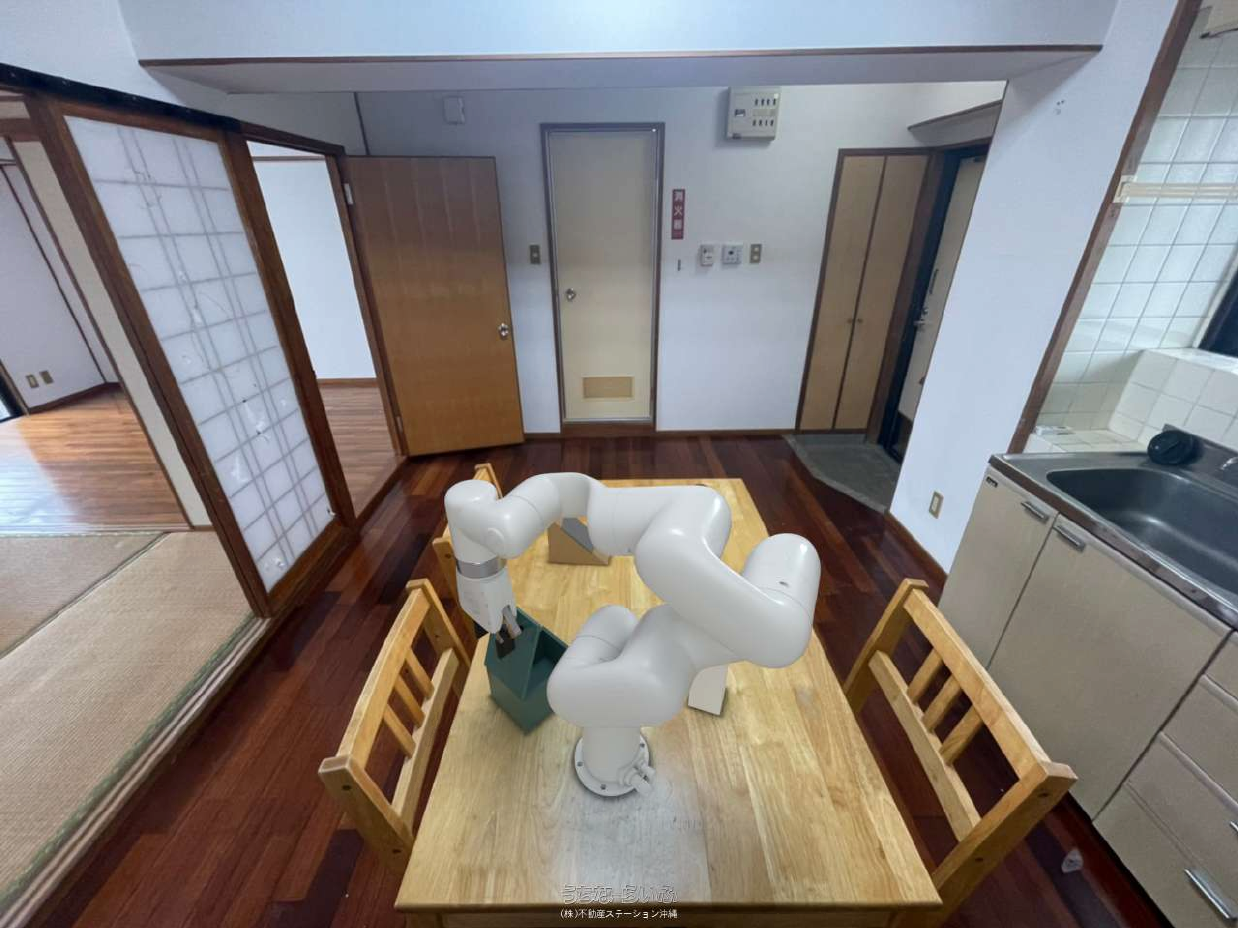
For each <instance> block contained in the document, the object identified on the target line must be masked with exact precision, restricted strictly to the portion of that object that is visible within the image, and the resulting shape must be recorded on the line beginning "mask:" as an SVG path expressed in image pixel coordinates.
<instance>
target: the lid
mask: <svg viewBox="0 0 1238 928" xmlns="http://www.w3.org/2000/svg"><path fill="white" fill-rule="evenodd" d="M516 612H517V615H516V622H517V624H518V626H519V628H520V630H521V634H519V635H518V636H516V637H515V638H514V641H515V650H513V651H512V652H511V653H510V654H508V655H506V656H505V657H504V658H502V659H499V658H498V657H497V651H496V645H495V640H496V639H497V638H496V635H495V634H493V633H490V632H489V636H488V641H487V646H486V652H485V657H484V661H483V666H484V667H485V668H486V667H487V668H488V669H489V670H490V671H491V672H492V673H493V674H494V675H495V676H496V677H497V678H498V679H499V680H500V681H501V682H502V683H503V684H504V685H505V686H506V687H507V688H508V689H509V690H510V691H511V692H512V693H514V694H515V695H516V696H517V697H518V698H519V699H520V700H524V699H525V695H526V690H527V686H528V681H529V677H530V672H531V668H532V663H533V659H534V655H535V650H536V646H537V641H538V637H539V632H540V628H541V627H542V625H541V624H540V623H539V622H538V621H536V620H535V619H534V618H533V617H532V616H530V615H529V614H528V613H527V612H525V611H524V610H523V609H522V608H520V607H519V606H518V605H516ZM506 630H508V629H507V626H506V624H505V625H504V626H502V627H501V629H500V631H501V633H503V632H505V631H506Z"/></svg>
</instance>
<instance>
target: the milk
mask: <svg viewBox="0 0 1238 928" xmlns="http://www.w3.org/2000/svg"><path fill="white" fill-rule="evenodd" d="M729 665H730V664H726V665H720V666H714V667H709V668H705V669H703V670H701V671H700V672H699V673H698V674H697V675H696V677H695V679H694V681H693V684H692V686H691V689H690V692H689V694H688V702H687V706H688V707H692V708H695V709H697V710H701V711H704V712H706V713H707V712H708V713H710V714H713V715H717V716H720V714H721V710H722V707H723V702H724V697H725V693H726V689H727V680H728V673H729Z"/></svg>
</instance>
